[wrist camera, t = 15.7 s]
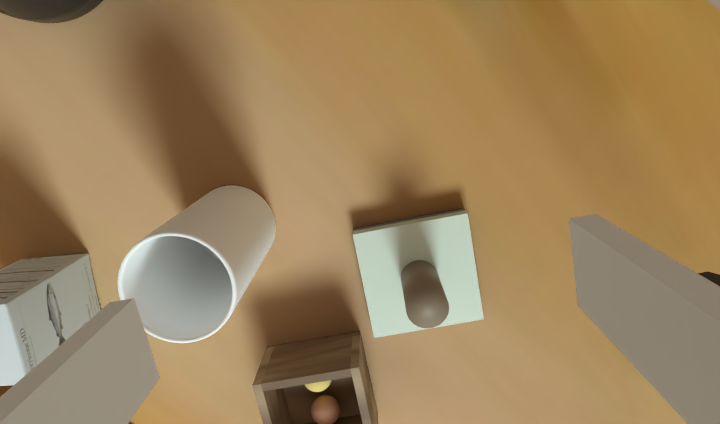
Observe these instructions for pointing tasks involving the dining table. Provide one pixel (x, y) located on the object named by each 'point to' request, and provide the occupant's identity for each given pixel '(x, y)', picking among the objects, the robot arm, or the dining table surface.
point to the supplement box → (42, 309)
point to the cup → (198, 264)
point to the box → (315, 380)
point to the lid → (419, 274)
